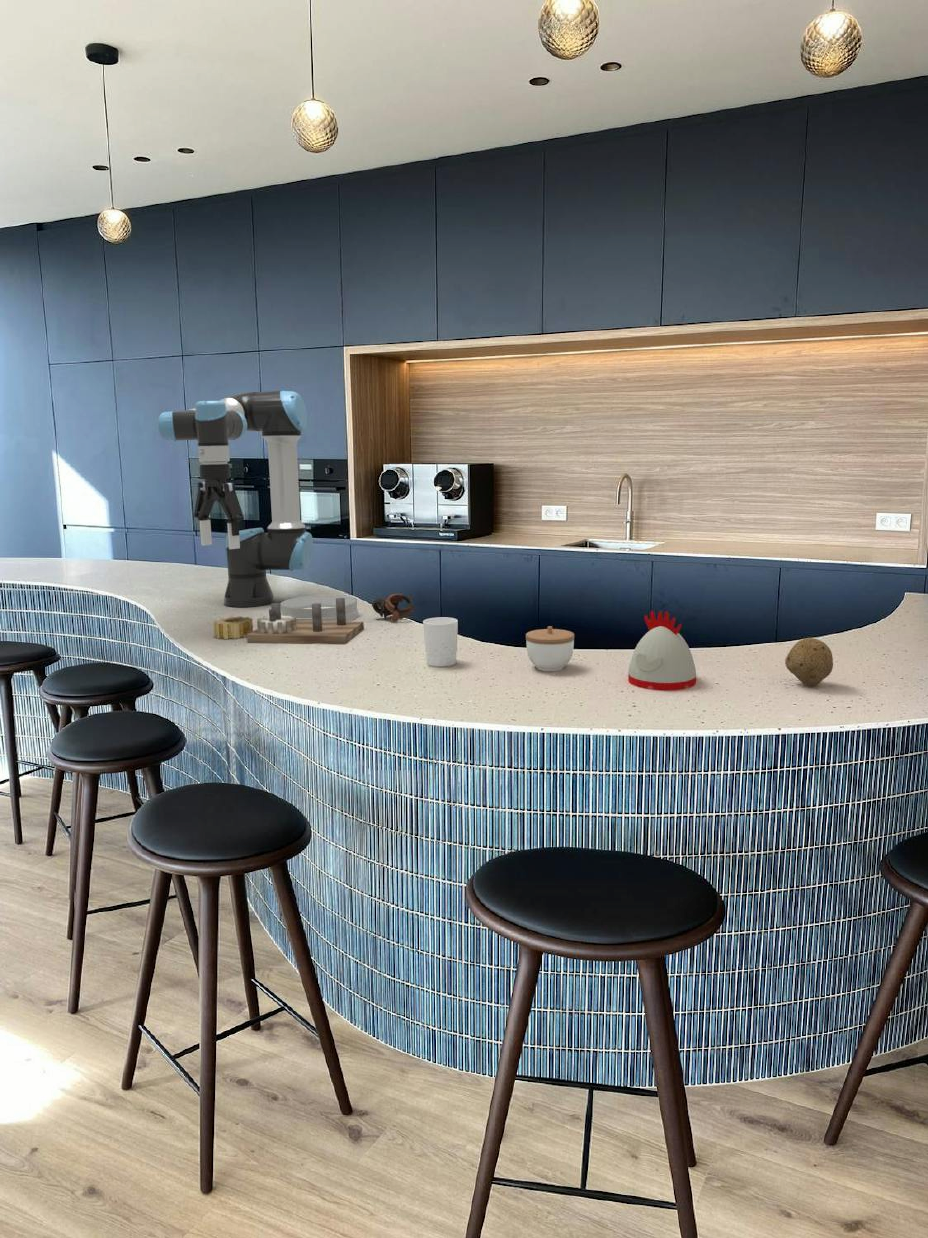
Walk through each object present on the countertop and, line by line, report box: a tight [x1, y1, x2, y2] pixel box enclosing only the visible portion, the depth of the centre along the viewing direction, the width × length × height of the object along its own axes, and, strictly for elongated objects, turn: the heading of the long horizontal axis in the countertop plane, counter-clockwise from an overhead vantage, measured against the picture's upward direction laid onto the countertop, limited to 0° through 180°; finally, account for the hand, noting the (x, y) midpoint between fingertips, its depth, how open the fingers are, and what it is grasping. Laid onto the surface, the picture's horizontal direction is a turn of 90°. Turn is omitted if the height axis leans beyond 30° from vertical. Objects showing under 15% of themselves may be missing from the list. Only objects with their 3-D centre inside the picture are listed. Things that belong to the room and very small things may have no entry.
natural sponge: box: [784, 637, 834, 688], centre depth 186 cm, size 9×9×10 cm
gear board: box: [246, 598, 365, 645], centre depth 242 cm, size 18×26×9 cm
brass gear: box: [212, 616, 254, 640], centre depth 245 cm, size 10×10×4 cm
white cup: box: [422, 616, 459, 668], centre depth 210 cm, size 8×8×10 cm
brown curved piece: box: [371, 593, 415, 623], centre depth 260 cm, size 12×10×8 cm
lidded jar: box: [525, 625, 575, 672], centre depth 204 cm, size 11×11×9 cm
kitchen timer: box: [627, 610, 697, 691], centre depth 191 cm, size 14×14×15 cm
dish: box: [280, 594, 359, 621], centre depth 265 cm, size 22×22×5 cm
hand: (220, 547), depth 237 cm, fingers open, 13 cm apart
